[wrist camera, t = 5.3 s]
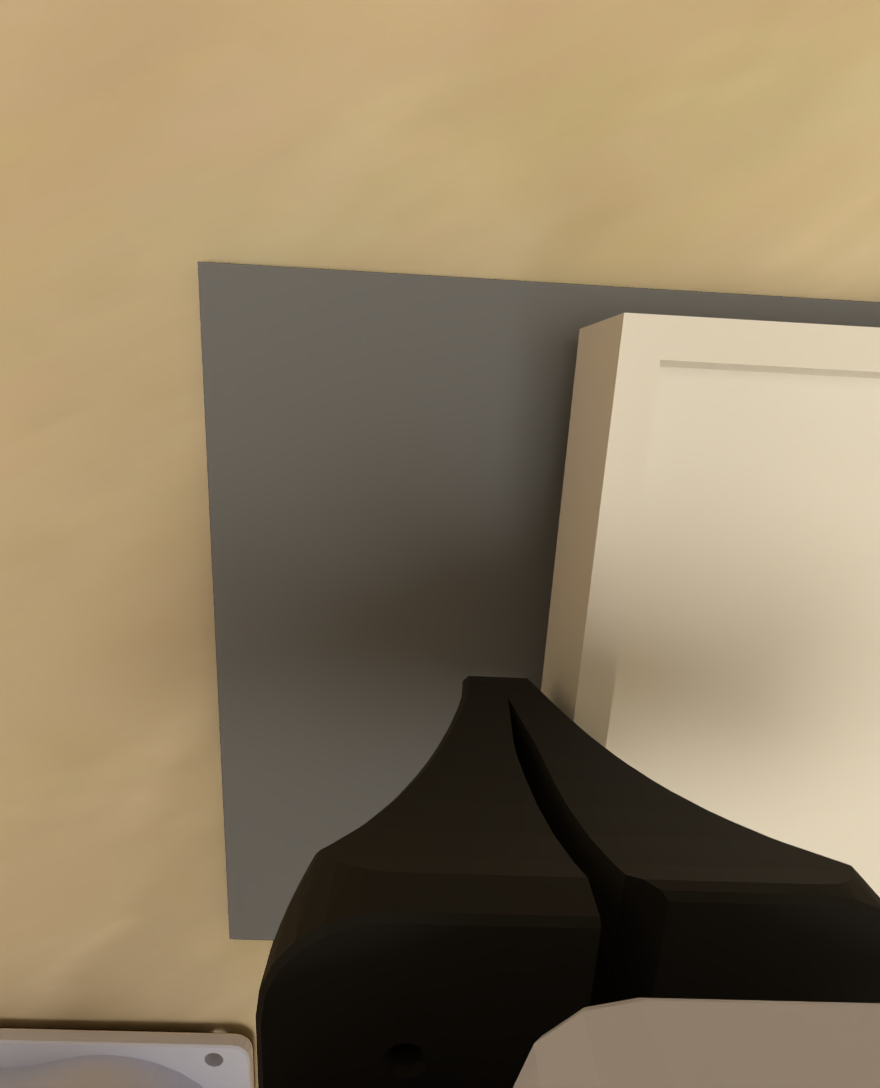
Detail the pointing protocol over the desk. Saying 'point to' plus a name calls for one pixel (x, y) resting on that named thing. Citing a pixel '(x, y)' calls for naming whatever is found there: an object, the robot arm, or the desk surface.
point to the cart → (728, 570)
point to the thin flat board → (383, 525)
